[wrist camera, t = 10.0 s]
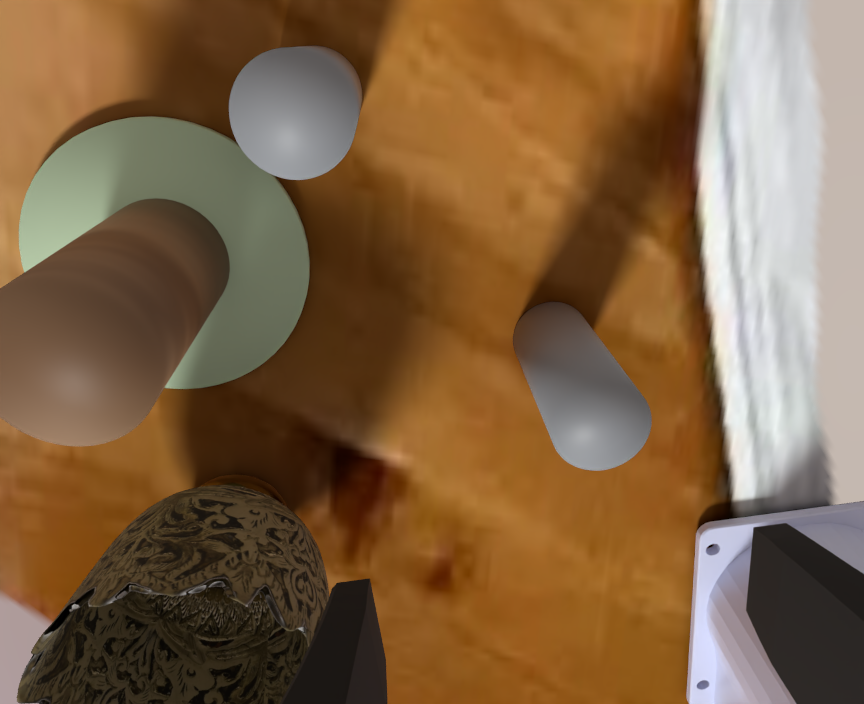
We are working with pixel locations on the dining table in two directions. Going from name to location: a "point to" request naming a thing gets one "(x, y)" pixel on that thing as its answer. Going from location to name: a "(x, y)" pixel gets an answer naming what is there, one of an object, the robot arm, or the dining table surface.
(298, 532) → the cup
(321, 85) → the post
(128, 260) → the dowel
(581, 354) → the post
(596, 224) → the dining table surface
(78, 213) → the coaster
